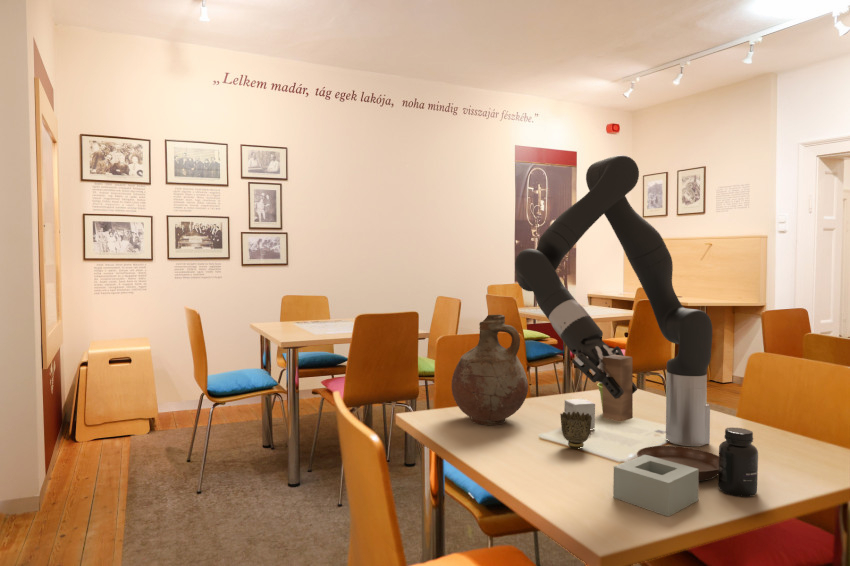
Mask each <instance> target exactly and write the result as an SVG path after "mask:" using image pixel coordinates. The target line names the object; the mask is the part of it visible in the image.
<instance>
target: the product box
mask: <svg viewBox="0 0 850 566" xmlns="http://www.w3.org/2000/svg"><path fill="white" fill-rule="evenodd" d="M563 406H564V411H563V412H565V413H566V414H568V412H570V415H571V414H572V413H573V412H575V413H577V412H579V414H580V415H582V413H583V412H584V415H586V414H587V413H589V416H590V415H591V417H592V421H591V429H593V428H595V429H596V427H595V426H596V403H594V402H592V401H590V400H587V399H586V398H573V399H572V398H571V399H564V405H563Z"/></svg>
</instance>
